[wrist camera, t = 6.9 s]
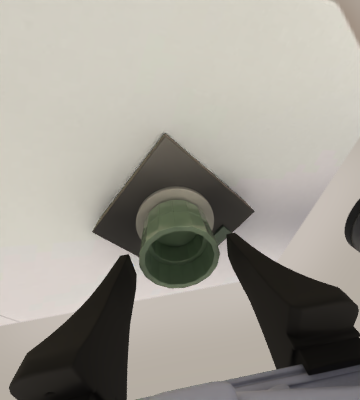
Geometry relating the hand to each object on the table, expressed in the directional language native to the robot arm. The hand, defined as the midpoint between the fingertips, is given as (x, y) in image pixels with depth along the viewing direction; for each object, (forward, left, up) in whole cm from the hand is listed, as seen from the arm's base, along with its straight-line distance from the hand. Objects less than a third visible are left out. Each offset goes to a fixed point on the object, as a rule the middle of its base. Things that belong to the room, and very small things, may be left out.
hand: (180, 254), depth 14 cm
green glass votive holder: (0, 0, -4) cm, 4 cm away
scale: (0, 0, -7) cm, 7 cm away
